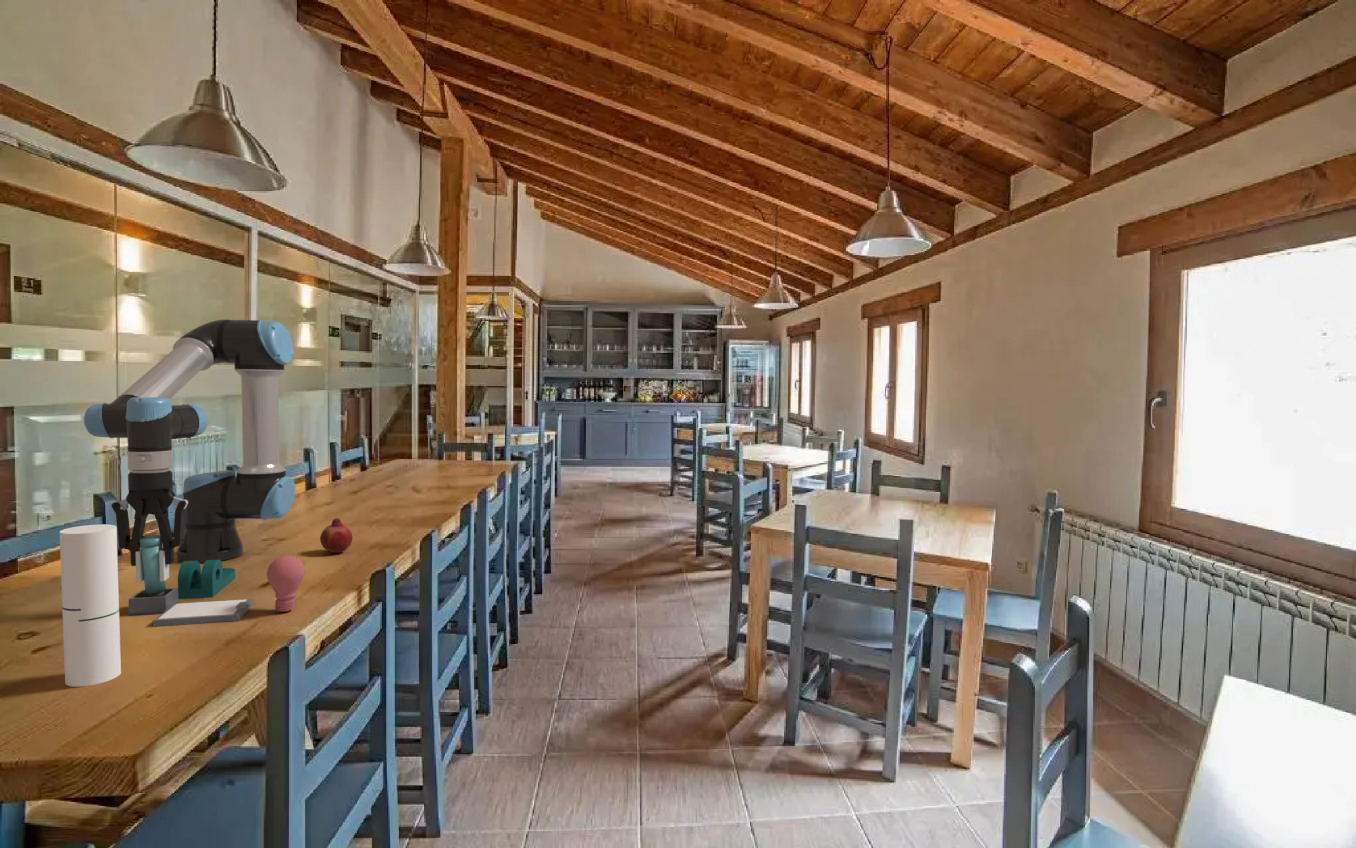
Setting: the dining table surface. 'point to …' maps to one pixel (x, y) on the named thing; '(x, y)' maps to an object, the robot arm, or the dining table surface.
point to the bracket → (203, 579)
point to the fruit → (336, 537)
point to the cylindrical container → (90, 604)
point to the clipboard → (204, 612)
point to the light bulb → (285, 580)
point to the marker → (152, 565)
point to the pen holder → (152, 602)
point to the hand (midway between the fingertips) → (152, 579)
